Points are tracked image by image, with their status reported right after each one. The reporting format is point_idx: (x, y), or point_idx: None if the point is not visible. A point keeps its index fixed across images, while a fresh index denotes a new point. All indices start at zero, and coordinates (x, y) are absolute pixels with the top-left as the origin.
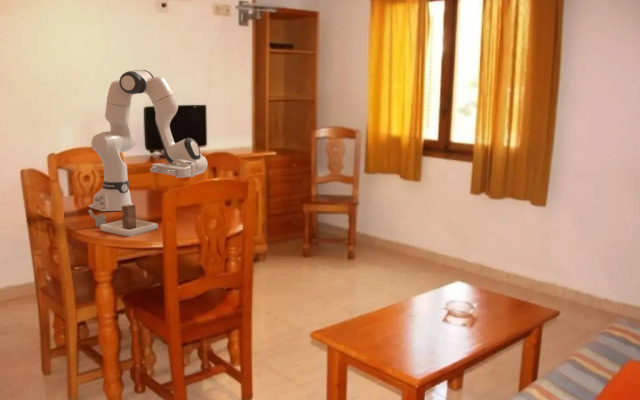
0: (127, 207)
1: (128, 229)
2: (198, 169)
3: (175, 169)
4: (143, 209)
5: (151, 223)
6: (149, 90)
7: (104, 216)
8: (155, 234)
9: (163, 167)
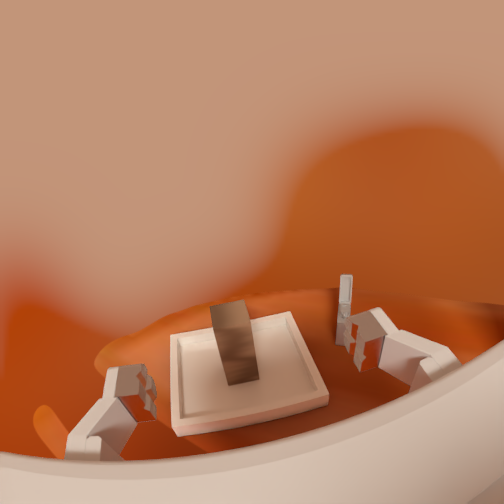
0: (213, 307)
1: None
2: None
3: (78, 464)
4: None
5: (196, 417)
6: None
7: (341, 321)
8: None
9: (336, 427)
